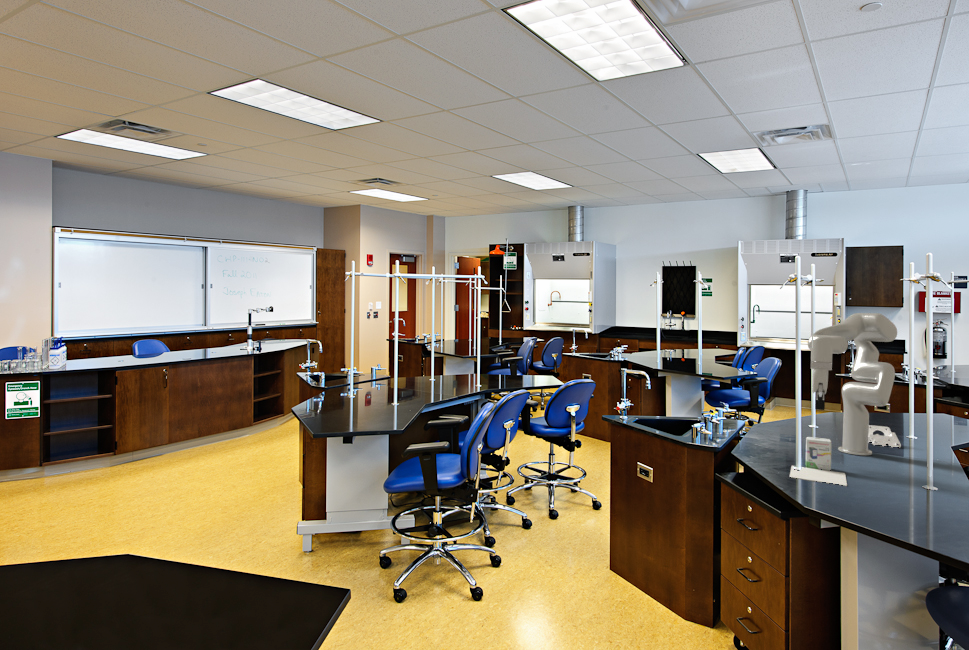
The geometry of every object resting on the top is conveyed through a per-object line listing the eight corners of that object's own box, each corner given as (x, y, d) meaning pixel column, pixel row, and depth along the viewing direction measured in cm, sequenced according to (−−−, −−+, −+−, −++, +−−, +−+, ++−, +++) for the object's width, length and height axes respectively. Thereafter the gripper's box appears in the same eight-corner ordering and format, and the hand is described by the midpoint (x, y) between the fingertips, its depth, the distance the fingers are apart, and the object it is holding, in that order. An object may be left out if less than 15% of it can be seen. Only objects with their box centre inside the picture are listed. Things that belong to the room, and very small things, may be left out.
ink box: (829, 468, 216) (830, 438, 215) (831, 471, 211) (832, 441, 211) (805, 464, 220) (805, 436, 219) (805, 468, 215) (806, 438, 215)
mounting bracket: (898, 450, 255) (897, 428, 258) (901, 447, 249) (900, 424, 253) (868, 447, 260) (867, 425, 264) (870, 444, 255) (869, 422, 259)
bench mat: (791, 466, 217) (791, 465, 217) (845, 474, 208) (845, 473, 207) (789, 477, 202) (789, 476, 202) (847, 486, 192) (847, 485, 192)
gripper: (810, 363, 232) (809, 404, 232) (810, 366, 217) (808, 410, 218) (831, 364, 228) (830, 406, 228) (832, 368, 213) (830, 412, 214)
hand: (819, 407), depth 223 cm, fingers open, 7 cm apart
